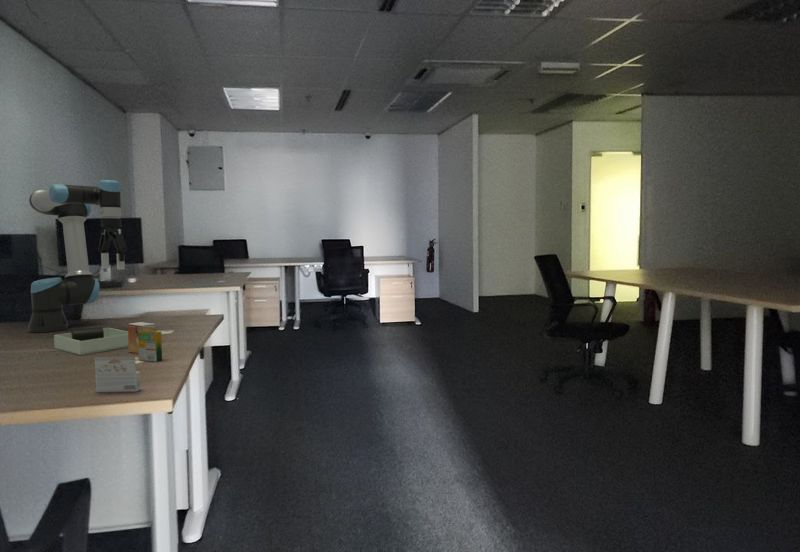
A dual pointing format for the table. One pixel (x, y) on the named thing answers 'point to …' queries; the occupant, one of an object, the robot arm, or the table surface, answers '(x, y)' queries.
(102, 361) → the ink cartridge box
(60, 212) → the robot arm
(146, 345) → the crayon box
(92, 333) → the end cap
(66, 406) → the table surface
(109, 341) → the organizer tray
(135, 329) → the small box
